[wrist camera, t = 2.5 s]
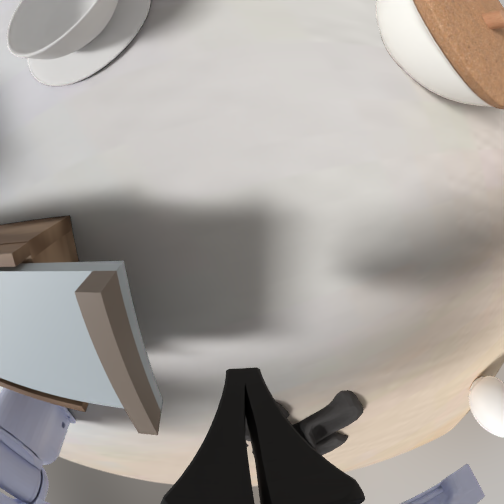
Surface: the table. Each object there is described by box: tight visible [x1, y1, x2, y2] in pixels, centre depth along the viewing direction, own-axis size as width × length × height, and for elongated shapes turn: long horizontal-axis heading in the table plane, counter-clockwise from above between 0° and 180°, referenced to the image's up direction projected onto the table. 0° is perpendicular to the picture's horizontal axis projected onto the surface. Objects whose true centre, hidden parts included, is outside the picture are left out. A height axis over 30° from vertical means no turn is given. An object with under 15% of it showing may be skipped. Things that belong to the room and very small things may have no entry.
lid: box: [0, 261, 163, 435], centre depth 11 cm, size 10×16×3 cm, turn 90°
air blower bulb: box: [469, 375, 504, 437], centre depth 23 cm, size 8×8×18 cm
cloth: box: [245, 390, 364, 455], centre depth 25 cm, size 22×19×6 cm
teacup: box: [7, 0, 151, 87], centre depth 8 cm, size 10×10×5 cm
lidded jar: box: [376, 0, 504, 109], centre depth 8 cm, size 11×11×9 cm
